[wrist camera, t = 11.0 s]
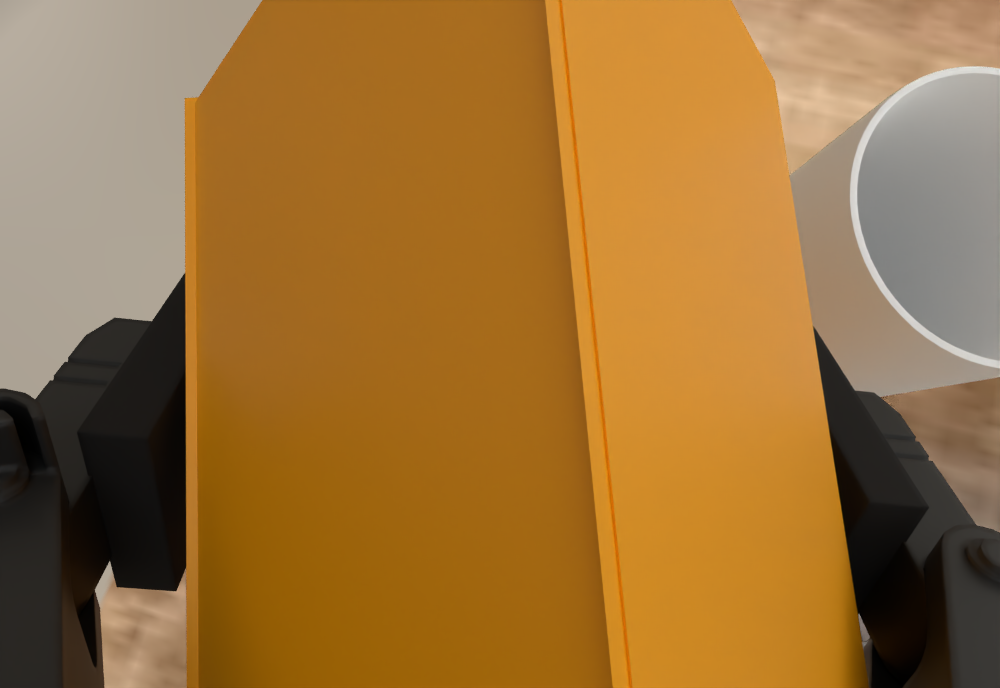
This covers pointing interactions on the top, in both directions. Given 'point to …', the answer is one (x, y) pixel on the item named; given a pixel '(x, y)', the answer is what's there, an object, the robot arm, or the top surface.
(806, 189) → the cup
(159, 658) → the top surface
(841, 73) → the top surface
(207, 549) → the orange juice
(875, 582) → the robot arm
